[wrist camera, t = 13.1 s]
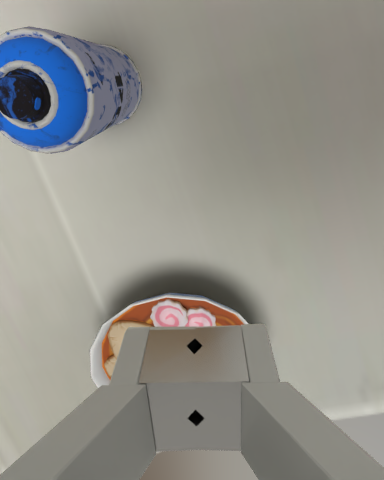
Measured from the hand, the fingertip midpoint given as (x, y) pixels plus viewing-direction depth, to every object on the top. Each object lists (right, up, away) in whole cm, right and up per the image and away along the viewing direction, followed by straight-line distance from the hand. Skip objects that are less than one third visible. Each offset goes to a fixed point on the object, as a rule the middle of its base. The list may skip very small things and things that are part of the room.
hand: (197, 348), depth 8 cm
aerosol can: (-9, +19, +29) cm, 36 cm away
